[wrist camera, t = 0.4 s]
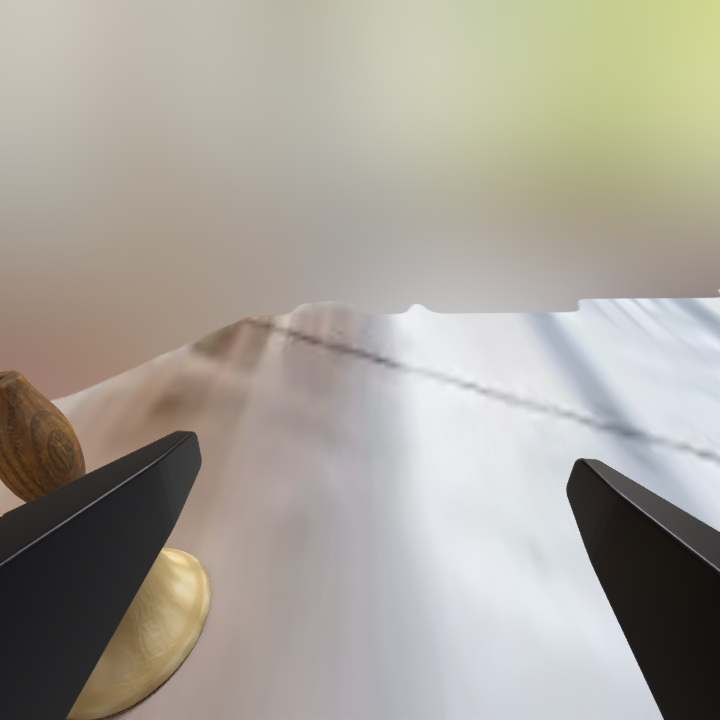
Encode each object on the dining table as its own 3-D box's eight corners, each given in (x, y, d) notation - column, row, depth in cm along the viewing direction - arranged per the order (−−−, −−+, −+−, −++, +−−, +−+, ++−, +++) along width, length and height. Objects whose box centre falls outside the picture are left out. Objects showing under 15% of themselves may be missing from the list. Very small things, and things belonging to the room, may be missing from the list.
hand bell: (10, 763, 15) (-318, 508, 8) (62, 580, 22) (-86, 347, 14) (216, 669, 18) (126, 420, 11) (207, 533, 25) (148, 320, 17)
